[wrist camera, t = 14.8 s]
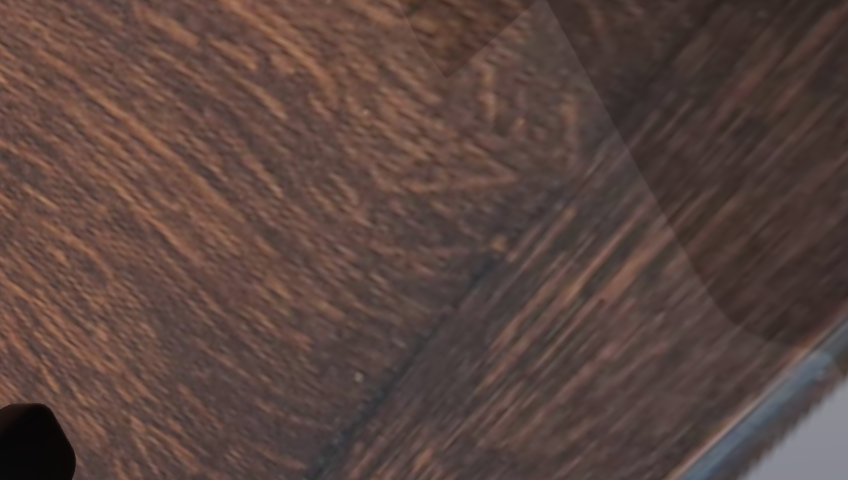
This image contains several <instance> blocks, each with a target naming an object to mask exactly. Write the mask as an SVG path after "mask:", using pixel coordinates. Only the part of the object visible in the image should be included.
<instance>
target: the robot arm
mask: <svg viewBox="0 0 848 480" xmlns="http://www.w3.org/2000/svg"><path fill="white" fill-rule="evenodd" d="M75 467H76V457H75V452H74V450H73V448H72V446H71V444H70V442H69V441H68V439H67V437H66V435H65V433H64V432H63V430H62V428H61V426H60V424H59V423H58V421H57V419H56V417H55V415H54V414H53V412H52V411H51V409H50V408H48V407H47V406H46V405H44V404H40V403H26V404H11V405H8V406H6V407H4V408H2V409H0V480H72V478H73V475H74V472H75Z"/></svg>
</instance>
